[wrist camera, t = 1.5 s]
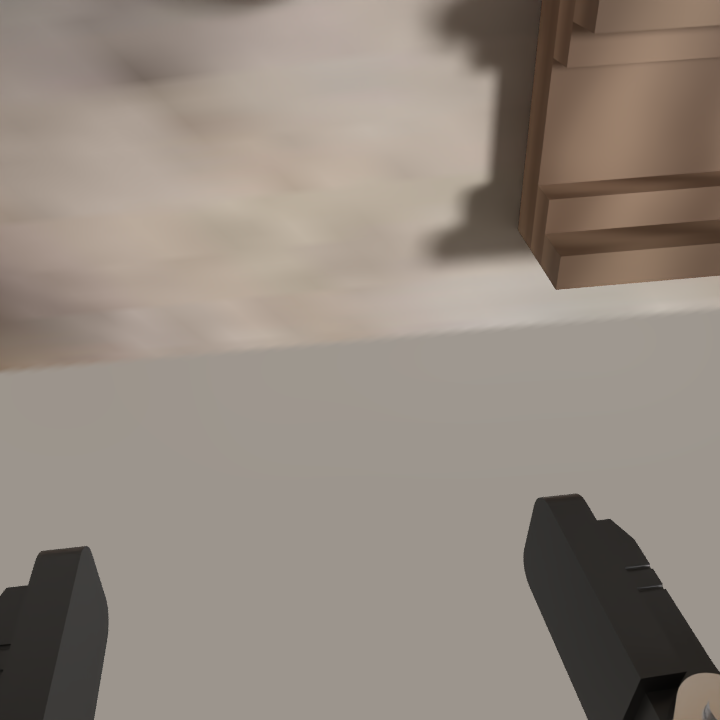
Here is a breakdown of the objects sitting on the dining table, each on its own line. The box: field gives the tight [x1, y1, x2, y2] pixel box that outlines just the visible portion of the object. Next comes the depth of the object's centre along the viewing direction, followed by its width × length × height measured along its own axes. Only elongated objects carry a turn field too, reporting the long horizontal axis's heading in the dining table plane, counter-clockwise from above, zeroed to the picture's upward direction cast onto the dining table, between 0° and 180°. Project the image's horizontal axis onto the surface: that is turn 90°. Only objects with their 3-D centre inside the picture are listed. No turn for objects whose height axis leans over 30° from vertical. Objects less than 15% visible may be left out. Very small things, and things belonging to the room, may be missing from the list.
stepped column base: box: [518, 0, 720, 290], centre depth 26 cm, size 12×11×6 cm
